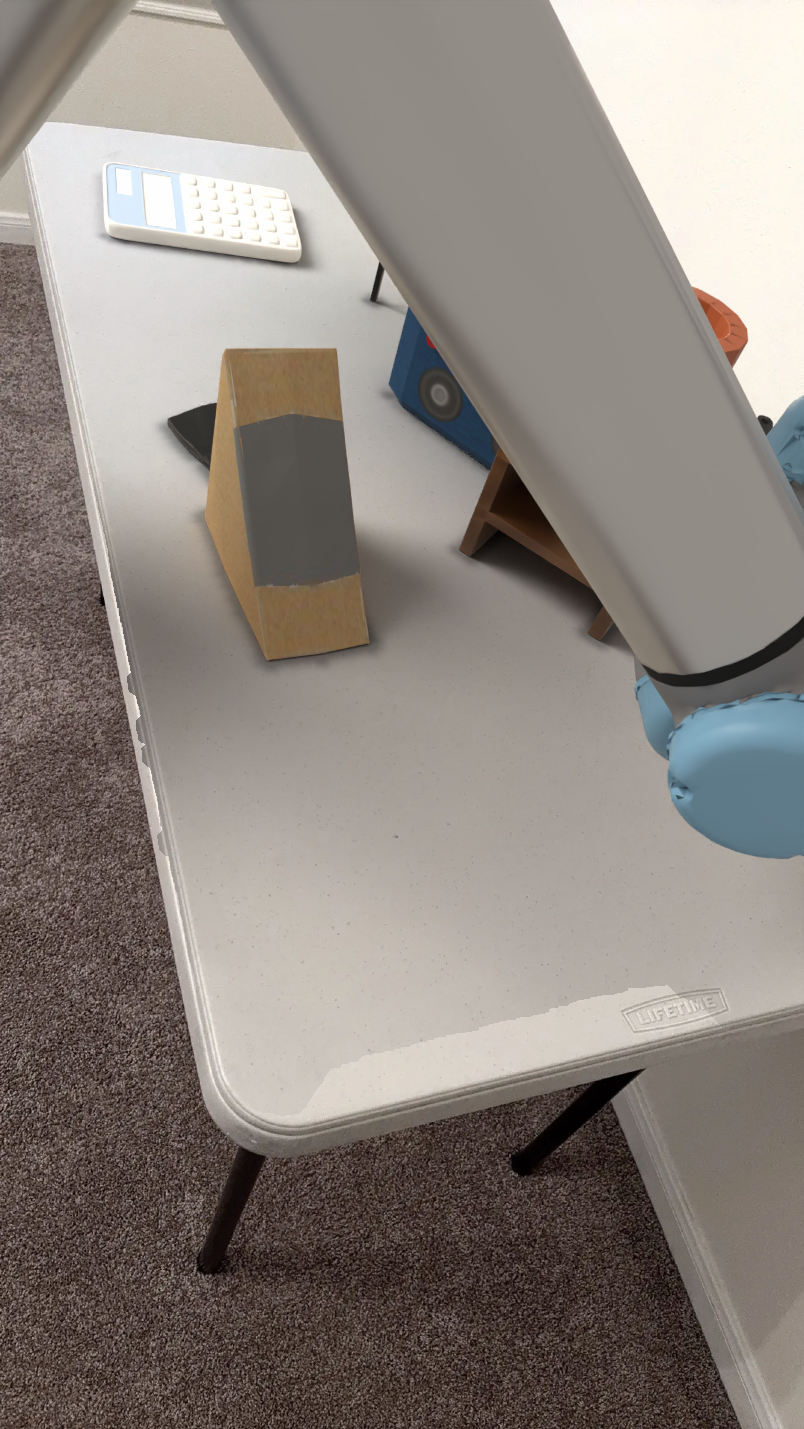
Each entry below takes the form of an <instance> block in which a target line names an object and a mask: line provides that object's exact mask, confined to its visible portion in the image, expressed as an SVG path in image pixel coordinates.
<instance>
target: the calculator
mask: <svg viewBox="0 0 804 1429" xmlns="http://www.w3.org/2000/svg"><path fill="white" fill-rule="evenodd" d="M102 198H103V200H102V202H103V222H104V229H105V230H106V233H107V234H108V235H109V236H111V237H112V238H115V239H120V240H126V241H132V242H139V243H146V244H151V245H158V246H159V245H161V246H166V247H167V246H168V247H175V248H181V249H188V250H196V251H203V252H210V253H217V254H224V255H232V256H238V257H244V258H253V259H260V260H266V261H273V262H281V263H291V264H293V263H296V262H299V261H300V259H301V257H302V251H303V247H302V241H301V237H300V234H299V230H298V225H297V222H296V218H295V214H294V210H293V206H292V203H291V198H290V196H289V194H288V192H286V191H285V190H283V189H280V188H275V187H272V186H271V187H270V186H265V185H259V184H252V183H248V182H247V183H246V182H240V181H235V180H227V179H222V178H216V177H209V176H204V175H203V176H202V175H197V174H191V173H186V172H185V173H184V172H179V171H173V170H167V169H161V168H154V167H148V166H142V165H136V164H129V163H123V162H122V163H121V162H117V161H116V162H115V161H108V162H105V163H104V164H103V166H102Z"/></svg>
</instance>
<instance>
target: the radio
mask: <svg viewBox="0 0 804 1429" xmlns="http://www.w3.org/2000/svg"><path fill="white" fill-rule="evenodd" d="M387 384H388V386H389V388H390V389H391V391H392V393H393V394H394V396H395V398H396V399H397V401H398V402H399V404H400V406H401V407H402V408H403V409H405V410H406V411H407V412H408V413H410V414H411V415H413V416H414V417H415V418H417V419H418V420H420V421H421V422H422V423H423V424H425V425H426V426H428V427H429V428H431V429H432V430H434V431H435V432H436V433H438V434H439V435H440V436H442V437H443V438H444V439H446V440H447V441H449V442H450V443H451V444H453V445H454V446H456V447H457V448H459V449H460V450H461V451H462V452H464V453H465V454H467V455H468V456H470V457H471V458H472V459H474V460H475V461H476V462H478V463H479V464H481V466H483V467H485V468H486V469H488V470H489V471H490V469H491V467H492V464H493V462H494V459H495V457H496V454H497V452H498V449H499V447H500V446H499V444H498V443H497V441H496V440H495V438H494V437H493V435H492V433H491V432H490V430H489V429H488V427H487V426H486V424H485V423H484V421H483V420H482V418H481V417H480V415H479V414H478V412H477V410H476V409H475V407H474V406H473V404H472V403H471V401H470V400H469V398H468V397H467V395H466V394H465V392H464V391H463V389H462V387H461V386H460V384H459V383H458V381H457V380H456V378H455V377H454V375H453V374H452V372H451V371H450V369H449V367H448V366H447V364H446V363H445V361H444V360H443V358H442V357H441V355H440V354H439V352H438V351H437V349H436V348H435V346H434V344H433V343H432V341H431V340H430V338H429V337H428V335H427V334H426V332H425V331H424V329H423V328H422V326H421V324H420V323H419V321H418V320H417V318H416V317H415V315H414V314H413V312H412V311H411V309H410V308H409V306H408V305H407V310H406V313H405V317H404V321H403V326H402V330H401V334H400V337H399V340H398V344H397V349H396V353H395V356H394V360H393V364H392V368H391V372H390V376H389V380H388V383H387Z"/></svg>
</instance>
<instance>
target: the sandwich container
mask: <svg viewBox="0 0 804 1429" xmlns="http://www.w3.org/2000/svg"><path fill="white" fill-rule="evenodd" d="M220 363H221V364H220V372H219V382H218V389H217V390H218V392H217V400H216V403H217V409H216V418H215V427H214V437H213V446H212V455H211V465H210V471H209V474H208V475H209V476H208V484H207V494H206V505H205V510H204V520H205V523H206V525H207V528H208V530H209V533H210V536H211V538H212V541H213V544H214V546H215V550H216V551H217V554H218V556H219V559H220V562H221V564H222V566H223V570H224V572H225V574H226V576H227V578H228V581H229V582H230V585H231V587H232V589H233V591H234V594H235V595H236V598H237V600H238V602H239V604H240V606H241V608H242V611H243V613H244V614H245V617H246V619H247V621H248V624H249V626H250V628H251V630H252V632H253V634H254V636H255V639H256V641H257V643H258V645H259V648H260V649H261V652H262V654H263V656H264V658H265V660H266V661H272V660H279V659H280V660H281V659H289V658H294V657H295V658H296V657H305V656H311V655H319V654H325V653H330V652H334V651H338V650H339V651H340V650H344V649H348V648H352V647H358V646H362V645H366V644H369V645H370V638H369V630H368V622H367V615H366V614H367V613H366V606H365V600H364V599H365V598H364V591H363V583H362V575H361V568H360V559H359V551H358V550H359V549H358V543H357V535H356V527H355V526H356V525H355V517H354V508H353V498H352V488H351V480H350V470H349V462H348V454H347V445H346V436H345V434H346V433H345V425H344V417H343V416H344V414H343V407H342V406H343V405H342V393H341V381H340V368H339V357H338V348H336V347H226V348H225V349H224V351H223V352H222V354H221V362H220Z"/></svg>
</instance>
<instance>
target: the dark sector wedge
mask: <svg viewBox="0 0 804 1429" xmlns="http://www.w3.org/2000/svg"><path fill="white" fill-rule="evenodd" d="M216 409H217V402H211V403H207V404H202V405H199V406H197V407H194V408H191V409H189V410H186V411H184V412H181V413H179V414H175V415H172V416H170V417H167V423H166V424H167V427H168V428H169V429H170V430H171V432H172V433H173V434H174V436H175V437H176V438H177V439H178V441H179V442H180V443H181V444H182V445H183V447H184V448H185V449H186V450H187V451H188V452H190V454H191V455H193V456H194V457H195V458H196V459H197V460H198V461H199V462H201V464H203V466H205V467H206V468H207V469H208V472H210V465H211V455H212V446H213V437H214V427H215V418H216Z"/></svg>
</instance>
